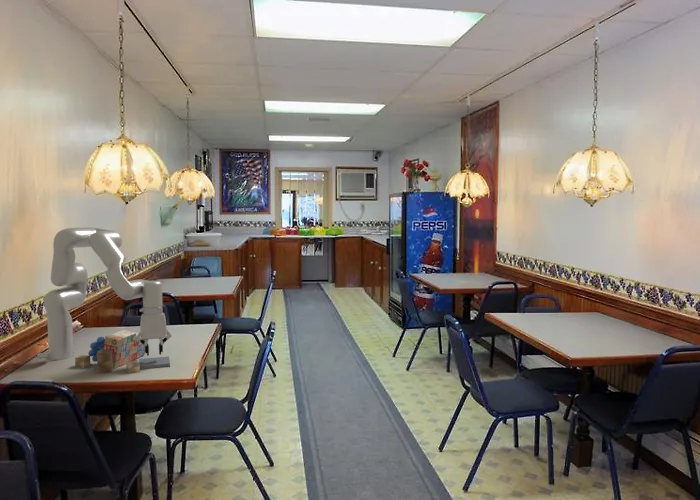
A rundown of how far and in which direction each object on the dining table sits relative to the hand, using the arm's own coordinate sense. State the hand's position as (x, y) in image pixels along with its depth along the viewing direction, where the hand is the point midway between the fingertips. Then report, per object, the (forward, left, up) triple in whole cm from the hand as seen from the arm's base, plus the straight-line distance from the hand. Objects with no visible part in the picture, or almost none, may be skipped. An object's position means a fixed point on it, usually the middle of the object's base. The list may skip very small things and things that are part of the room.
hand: (154, 353), depth 225 cm
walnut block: (-18, -4, -4) cm, 19 cm away
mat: (0, 0, -4) cm, 4 cm away
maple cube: (-8, -8, -4) cm, 12 cm away
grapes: (-20, +9, -4) cm, 23 cm away
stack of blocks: (-12, +9, -4) cm, 16 cm away
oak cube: (-27, +7, -4) cm, 29 cm away
